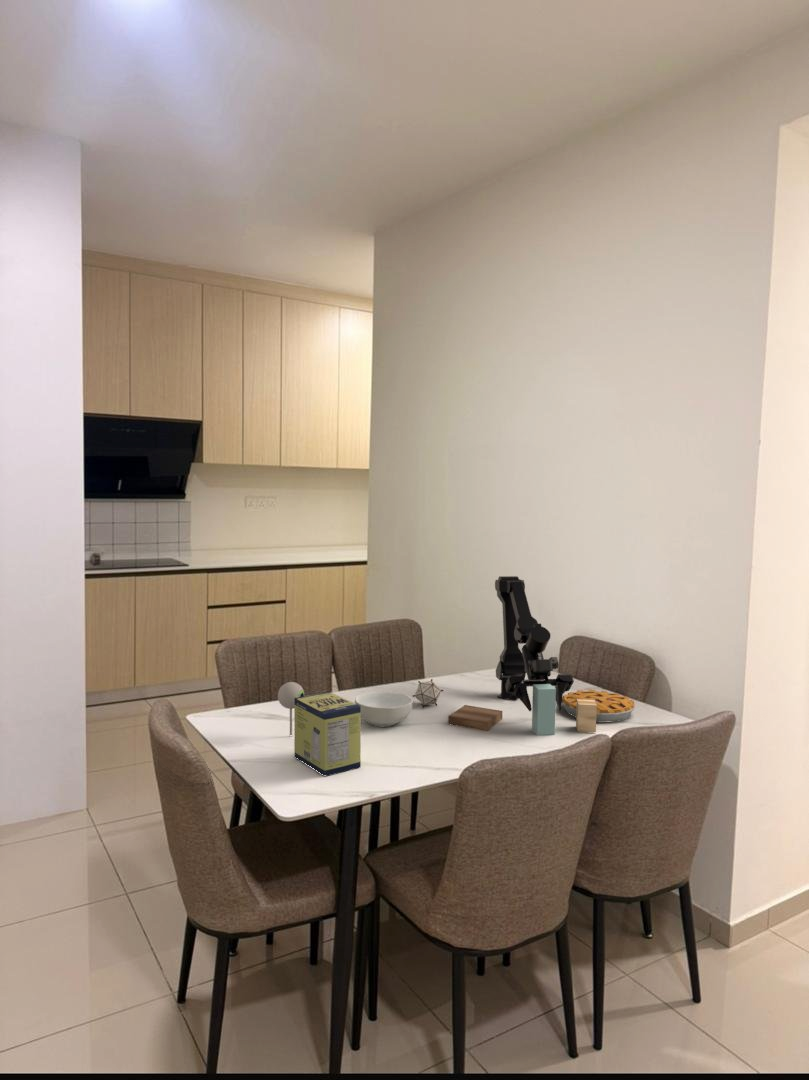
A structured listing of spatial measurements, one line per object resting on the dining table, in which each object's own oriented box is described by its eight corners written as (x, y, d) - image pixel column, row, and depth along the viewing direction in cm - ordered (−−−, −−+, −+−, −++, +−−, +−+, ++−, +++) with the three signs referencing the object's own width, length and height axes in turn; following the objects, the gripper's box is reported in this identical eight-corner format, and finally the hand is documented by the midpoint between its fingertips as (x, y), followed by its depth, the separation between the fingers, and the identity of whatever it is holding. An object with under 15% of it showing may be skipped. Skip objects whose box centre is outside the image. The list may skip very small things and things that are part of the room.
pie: (602, 729, 216) (603, 712, 215) (546, 710, 233) (546, 694, 233) (649, 716, 229) (650, 699, 228) (592, 698, 246) (593, 683, 246)
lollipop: (296, 742, 201) (296, 687, 200) (272, 738, 204) (272, 684, 203) (308, 734, 208) (308, 680, 207) (285, 730, 211) (285, 677, 209)
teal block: (531, 729, 214) (532, 684, 213) (548, 728, 215) (550, 684, 214) (537, 735, 209) (538, 689, 208) (554, 734, 210) (555, 688, 209)
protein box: (328, 749, 197) (329, 690, 196) (361, 767, 184) (362, 705, 183) (293, 757, 191) (293, 697, 189) (324, 777, 178) (324, 713, 177)
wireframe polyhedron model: (421, 718, 235) (402, 693, 234) (433, 702, 242) (414, 677, 241) (442, 709, 230) (422, 683, 229) (452, 693, 236) (433, 668, 236)
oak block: (576, 726, 217) (576, 699, 217) (593, 727, 217) (594, 700, 216) (577, 732, 212) (578, 704, 212) (595, 733, 212) (596, 705, 211)
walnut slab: (464, 714, 229) (465, 704, 228) (502, 720, 223) (502, 710, 223) (448, 725, 218) (448, 715, 218) (487, 732, 213) (487, 722, 212)
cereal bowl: (405, 734, 209) (406, 709, 208) (347, 729, 212) (347, 705, 212) (417, 715, 226) (417, 692, 225) (363, 711, 229) (363, 688, 228)
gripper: (508, 647, 213) (519, 696, 203) (572, 646, 216) (585, 695, 205) (501, 667, 221) (510, 716, 211) (562, 666, 224) (574, 714, 214)
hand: (545, 710), depth 210 cm, fingers open, 8 cm apart
